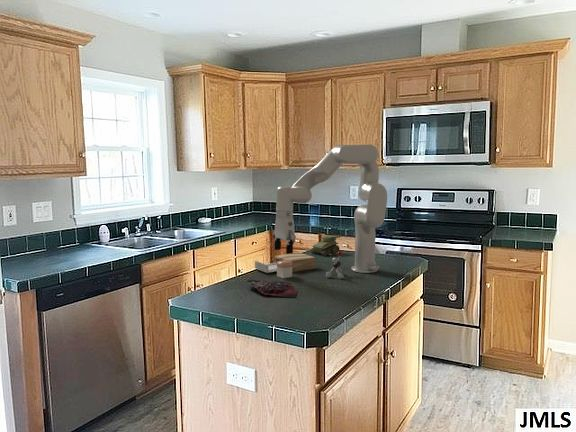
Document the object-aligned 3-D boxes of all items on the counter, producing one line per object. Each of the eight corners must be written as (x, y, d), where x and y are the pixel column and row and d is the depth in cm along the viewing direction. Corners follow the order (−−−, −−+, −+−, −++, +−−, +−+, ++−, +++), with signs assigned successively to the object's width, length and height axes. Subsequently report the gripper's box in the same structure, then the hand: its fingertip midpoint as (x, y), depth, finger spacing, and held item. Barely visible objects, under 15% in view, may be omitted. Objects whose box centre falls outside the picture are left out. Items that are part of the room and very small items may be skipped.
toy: (346, 252, 277) (346, 235, 276) (324, 257, 265) (324, 239, 264) (333, 250, 285) (333, 233, 283) (311, 254, 272) (311, 236, 271)
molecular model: (324, 278, 219) (325, 255, 218) (331, 272, 230) (331, 250, 229) (342, 279, 216) (343, 256, 215) (348, 273, 228) (348, 251, 226)
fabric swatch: (250, 283, 210) (250, 276, 209) (298, 286, 208) (299, 279, 207) (241, 295, 190) (241, 287, 190) (295, 299, 188) (295, 291, 188)
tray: (292, 268, 232) (292, 261, 231) (266, 272, 224) (266, 265, 223) (280, 264, 241) (280, 257, 240) (255, 268, 233) (254, 261, 232)
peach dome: (295, 266, 220) (295, 262, 220) (282, 268, 216) (282, 264, 216) (286, 263, 226) (286, 259, 226) (273, 265, 222) (273, 261, 222)
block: (292, 276, 221) (292, 265, 220) (283, 278, 218) (283, 267, 217) (286, 274, 225) (286, 263, 224) (277, 275, 222) (277, 265, 222)
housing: (315, 268, 238) (315, 257, 237) (290, 272, 229) (290, 261, 229) (299, 262, 249) (299, 252, 248) (274, 266, 241) (274, 255, 240)
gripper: (302, 216, 213) (301, 254, 215) (281, 211, 227) (280, 247, 229) (288, 216, 209) (287, 255, 211) (267, 212, 223) (266, 249, 225)
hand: (283, 251), depth 220 cm, fingers open, 9 cm apart
